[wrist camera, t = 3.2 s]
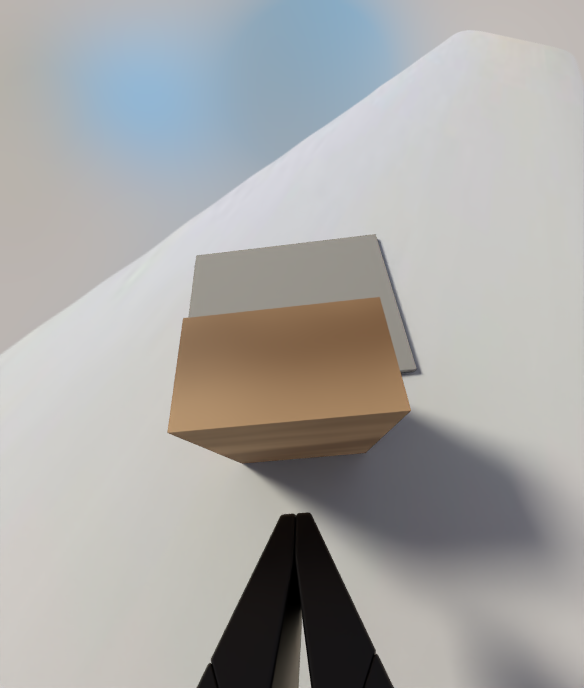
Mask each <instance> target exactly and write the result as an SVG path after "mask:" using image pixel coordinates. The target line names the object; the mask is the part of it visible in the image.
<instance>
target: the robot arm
mask: <svg viewBox="0 0 584 688" xmlns="http://www.w3.org/2000/svg"><path fill="white" fill-rule="evenodd" d="M302 619H303V627H304V635H305V642H306V650H307V658H308V665H309V673H310V681H311V688H394V687H393V685H392V683H391V681H390V679H389V677H388V675H387V673H386V671H385V668H384V666H383V664H382V662H381V660H380V658H379V656H378V655H377V654H376V650H375V648H374V646H373V644H372V641H371V639H370V637H369V635H368V633H367V631H366V629H365V627H364V625H363V622H362V620H361V618H360V616H359V614H358V612H357V610H356V608H355V606H354V603H353V601H352V599H351V597H350V595H349V593H348V591H347V589H346V586H345V584H344V582H343V580H342V578H341V576H340V574H339V572H338V570H337V567H336V565H335V563H334V561H333V559H332V557H331V555H330V553H329V551H328V548H327V546H326V544H325V542H324V540H323V538H322V536H321V534H320V532H319V529H318V527H317V525H316V523H315V521H314V519H313V517H312V515H311V514H310V513H298V514H297V515H295V514H283V515H281V516H280V518H279V520H278V522H277V524H276V526H275V528H274V530H273V532H272V534H271V536H270V539H269V541H268V543H267V545H266V547H265V549H264V551H263V553H262V555H261V557H260V559H259V561H258V563H257V565H256V567H255V569H254V571H253V573H252V576H251V578H250V580H249V582H248V584H247V586H246V588H245V590H244V592H243V594H242V596H241V598H240V600H239V602H238V604H237V606H236V608H235V610H234V612H233V615H232V617H231V619H230V621H229V623H228V625H227V627H226V629H225V631H224V633H223V635H222V637H221V639H220V641H219V643H218V645H217V647H216V649H215V652H214V654H213V656H212V658H211V663H212V664H211V663H209V664H208V666H207V668H206V670H205V672H204V674H203V676H202V678H201V680H200V682H199V684H198V686H197V688H298V687H299V668H300V648H301V629H302Z"/></svg>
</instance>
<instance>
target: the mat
mask: <svg viewBox="0 0 584 688" xmlns="http://www.w3.org/2000/svg"><path fill="white" fill-rule="evenodd" d="M374 297H380V299H381V303H382V307H383V310H384V314H385V318H386V321H387V325H388V329H389V332H390V336H391V339H392V343H393V347H394V350H395V354H396V358H397V361H398V365H399V369H400V372H401V373H402V372H412V371H415V370H416V369H417V368H416V365H415V362H414V358H413V355H412V352H411V349H410V345H409V342H408V339H407V335H406V332H405V329H404V326H403V322H402V319H401V316H400V313H399V309H398V306H397V303H396V299H395V296H394V293H393V290H392V286H391V283H390V280H389V277H388V273H387V270H386V267H385V264H384V260H383V257H382V254H381V250H380V247H379V244H378V241H377V237H376V234H374V235H365V236H357V237H349V238H340V239H332V240H323V241H315V242H307V243H298V244H290V245H281V246H273V247H265V248H256V249H248V250H239V251H231V252H223V253H214V254H206V255H197V256H196V262H195V270H194V278H193V286H192V294H191V302H190V309H189V317H188V318H190V317H200V316H209V315H218V314H227V313H236V312H245V311H255V310H264V309H273V308H282V307H291V306H300V305H310V304H319V303H328V302H337V301H346V300H355V299H365V298H374Z"/></svg>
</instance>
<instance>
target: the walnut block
mask: <svg viewBox="0 0 584 688" xmlns="http://www.w3.org/2000/svg"><path fill="white" fill-rule="evenodd" d="M410 411H411V409H410V405H409V401H408V398H407V394H406V390H405V387H404V383H403V380H402V376H401V372H400V369H399V365H398V361H397V358H396V354H395V350H394V347H393V343H392V339H391V336H390V332H389V329H388V325H387V321H386V318H385V314H384V310H383V307H382V303H381V299H380V297H374V298H365V299H355V300H346V301H337V302H328V303H319V304H310V305H300V306H291V307H282V308H273V309H264V310H255V311H245V312H236V313H227V314H218V315H209V316H200V317H190V318H183V323H182V330H181V338H180V345H179V352H178V359H177V367H176V374H175V381H174V389H173V396H172V403H171V410H170V418H169V425H168V432H167V433H169V434H172V435H174V436H176V437H179V438H181V439H184V440H186V441H189V442H191V443H193V444H196V445H198V446H201V447H203V448H206V449H208V450H211V451H213V452H215V453H218V454H220V455H223V456H225V457H228V458H230V459H232V460H235V461H237V462H240V463H254V462H266V461H277V460H289V459H301V458H312V457H324V456H336V455H347V454H359V453H366V452H367V451H368V450H369V449H370V448H371V447H372V446H373V445H375V444H376V443H377V442H378V441H379V440H380V439H381V438H382V437H383V436H384V435H385V434H386V433H387V432H388V431H390V430H391V429H392V428H393V427H394V426H395V425H396V424H397V423H398V422H399V421H400V420H401V419H402V418H404V417H405V416H406V415H407V414H408V413H409V412H410Z"/></svg>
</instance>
